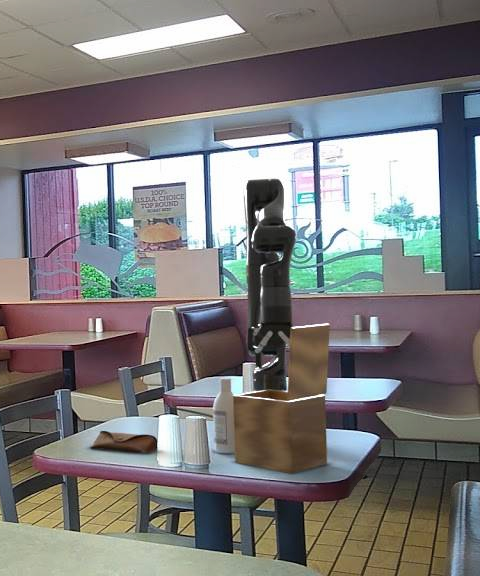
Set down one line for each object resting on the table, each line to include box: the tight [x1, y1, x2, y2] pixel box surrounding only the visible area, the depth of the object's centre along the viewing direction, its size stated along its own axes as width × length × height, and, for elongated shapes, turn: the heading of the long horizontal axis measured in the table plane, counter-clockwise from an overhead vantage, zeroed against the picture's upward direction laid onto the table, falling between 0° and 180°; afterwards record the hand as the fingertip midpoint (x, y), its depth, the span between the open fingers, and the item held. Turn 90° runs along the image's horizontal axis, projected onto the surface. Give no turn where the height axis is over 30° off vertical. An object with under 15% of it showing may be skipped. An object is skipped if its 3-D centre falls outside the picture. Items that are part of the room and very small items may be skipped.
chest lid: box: [287, 323, 331, 400], centre depth 201 cm, size 18×15×1 cm
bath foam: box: [212, 377, 235, 455], centre depth 224 cm, size 7×7×20 cm
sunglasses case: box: [89, 430, 158, 453], centre depth 233 cm, size 18×7×7 cm
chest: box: [233, 389, 328, 474], centre depth 209 cm, size 17×15×17 cm
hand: (277, 368), depth 208 cm, fingers open, 8 cm apart
